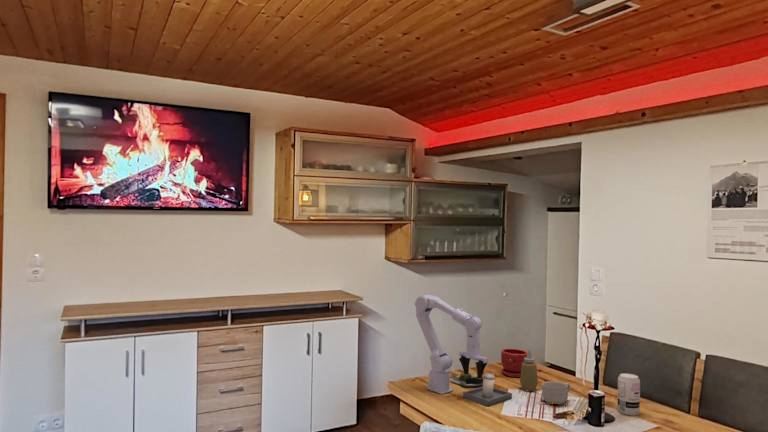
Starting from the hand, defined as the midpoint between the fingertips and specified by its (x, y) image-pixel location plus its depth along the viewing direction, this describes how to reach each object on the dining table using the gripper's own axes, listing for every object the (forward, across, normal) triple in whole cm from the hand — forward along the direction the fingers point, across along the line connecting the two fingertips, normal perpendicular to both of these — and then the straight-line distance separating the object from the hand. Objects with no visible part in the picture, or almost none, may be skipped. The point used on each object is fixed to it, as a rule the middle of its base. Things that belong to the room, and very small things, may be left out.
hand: (472, 375), depth 235 cm
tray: (+9, +5, +4) cm, 11 cm away
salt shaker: (+8, +5, +4) cm, 10 cm away
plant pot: (+10, -10, +44) cm, 46 cm away
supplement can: (+10, +52, +36) cm, 64 cm away
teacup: (+10, +27, +24) cm, 37 cm away
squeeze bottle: (+10, +9, +29) cm, 32 cm away
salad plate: (+10, -15, +16) cm, 24 cm away
